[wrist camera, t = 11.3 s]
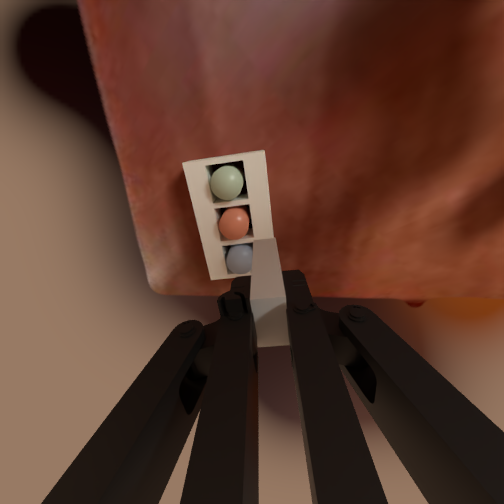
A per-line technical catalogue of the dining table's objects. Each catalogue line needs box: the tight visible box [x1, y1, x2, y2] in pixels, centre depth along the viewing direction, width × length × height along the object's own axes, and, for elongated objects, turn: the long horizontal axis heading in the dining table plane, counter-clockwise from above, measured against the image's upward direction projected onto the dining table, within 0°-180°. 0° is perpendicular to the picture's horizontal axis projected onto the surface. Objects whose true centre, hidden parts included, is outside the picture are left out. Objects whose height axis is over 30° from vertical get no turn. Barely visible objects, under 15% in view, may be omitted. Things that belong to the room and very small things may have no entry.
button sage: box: [210, 164, 245, 200], centre depth 36 cm, size 5×5×6 cm
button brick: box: [219, 205, 250, 240], centre depth 39 cm, size 5×5×6 cm
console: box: [182, 150, 274, 280], centre depth 40 cm, size 20×12×5 cm, turn 8°
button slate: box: [226, 242, 253, 274], centre depth 42 cm, size 5×5×6 cm
